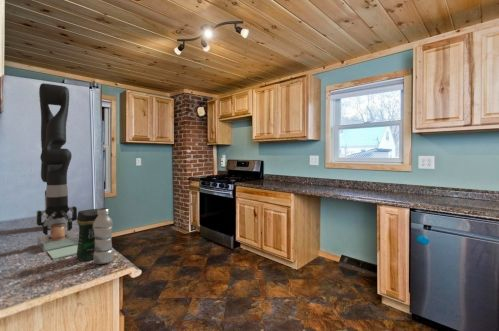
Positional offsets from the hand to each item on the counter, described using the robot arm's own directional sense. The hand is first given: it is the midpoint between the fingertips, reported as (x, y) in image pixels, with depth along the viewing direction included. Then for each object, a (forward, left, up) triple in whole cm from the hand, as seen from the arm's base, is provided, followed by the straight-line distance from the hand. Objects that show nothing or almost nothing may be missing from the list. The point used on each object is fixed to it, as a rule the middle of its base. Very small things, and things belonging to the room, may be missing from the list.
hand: (57, 232), depth 114 cm
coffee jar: (+24, +6, -6) cm, 25 cm away
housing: (0, 0, -5) cm, 5 cm away
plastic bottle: (+33, +7, -6) cm, 34 cm away
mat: (+12, 0, -5) cm, 13 cm away
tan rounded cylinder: (0, 0, -5) cm, 5 cm away
